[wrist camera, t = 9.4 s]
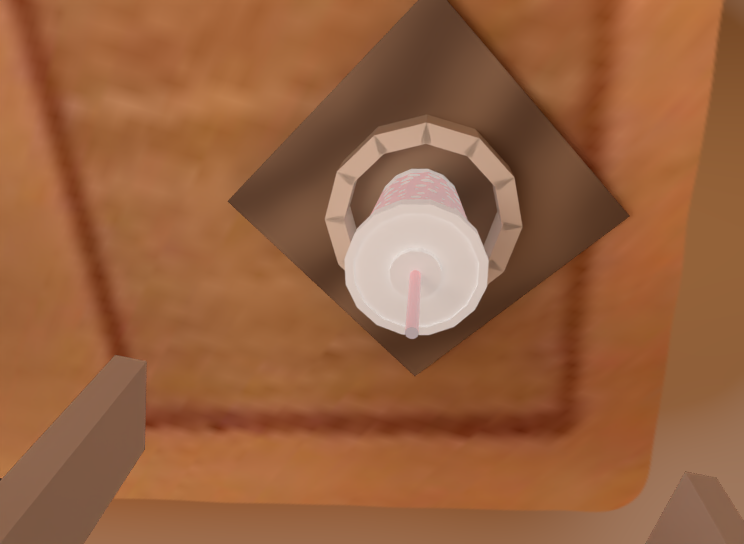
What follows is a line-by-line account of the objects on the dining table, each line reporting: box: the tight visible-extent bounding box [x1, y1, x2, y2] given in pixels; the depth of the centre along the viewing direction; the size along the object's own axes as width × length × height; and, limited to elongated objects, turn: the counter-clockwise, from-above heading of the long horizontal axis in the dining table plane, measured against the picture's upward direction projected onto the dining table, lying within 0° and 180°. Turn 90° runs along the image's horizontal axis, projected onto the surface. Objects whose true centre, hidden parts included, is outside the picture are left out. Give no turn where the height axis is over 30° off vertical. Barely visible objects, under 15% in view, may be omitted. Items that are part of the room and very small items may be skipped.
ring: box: [325, 115, 522, 285], centre depth 31 cm, size 10×10×2 cm
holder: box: [228, 0, 629, 376], centre depth 33 cm, size 16×16×2 cm
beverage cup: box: [344, 169, 489, 339], centre depth 26 cm, size 6×6×14 cm
